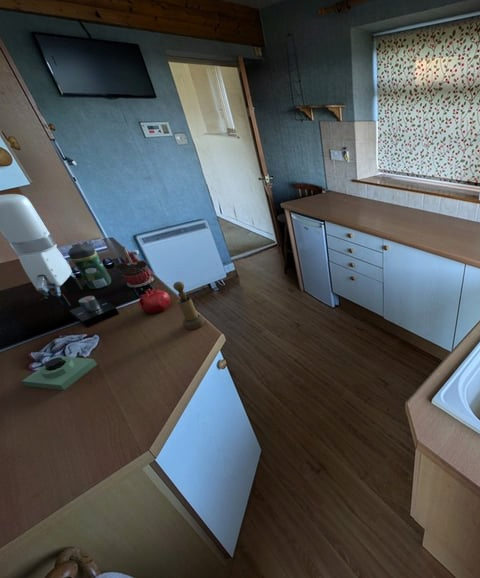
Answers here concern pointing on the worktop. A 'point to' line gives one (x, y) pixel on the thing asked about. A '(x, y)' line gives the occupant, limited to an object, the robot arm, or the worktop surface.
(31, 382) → the button box
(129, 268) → the cake
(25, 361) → the worktop surface
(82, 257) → the coffee jar
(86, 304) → the knob
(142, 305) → the pomegranate
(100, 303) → the panel
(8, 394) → the worktop surface
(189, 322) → the mortar and pestle
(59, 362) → the button
